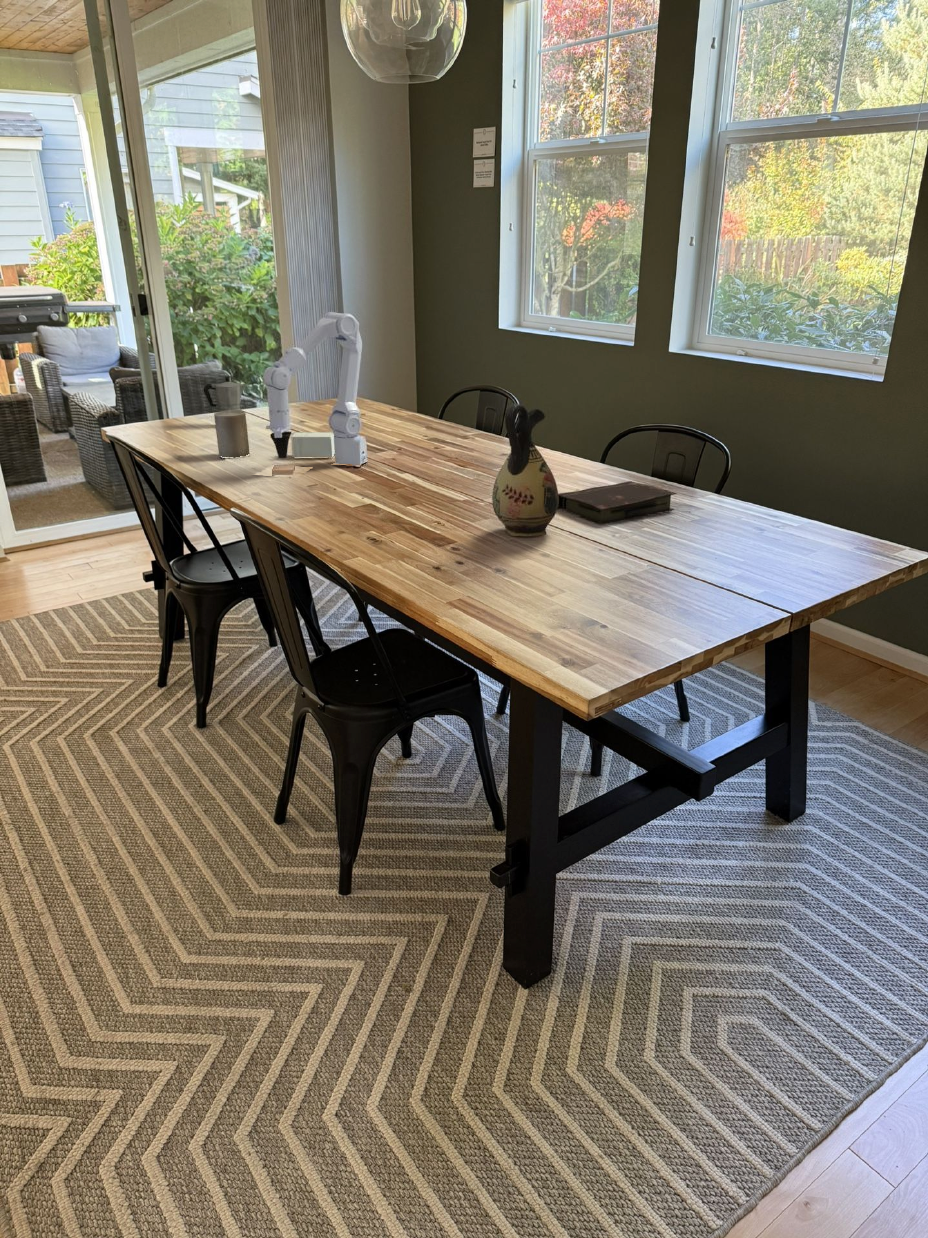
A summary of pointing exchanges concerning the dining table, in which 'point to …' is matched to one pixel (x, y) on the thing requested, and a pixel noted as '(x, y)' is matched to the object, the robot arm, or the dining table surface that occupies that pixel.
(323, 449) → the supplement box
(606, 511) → the diary
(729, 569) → the dining table surface
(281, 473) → the terracotta tile
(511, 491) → the ceramic jug
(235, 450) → the pillar candle
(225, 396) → the coffeepot
